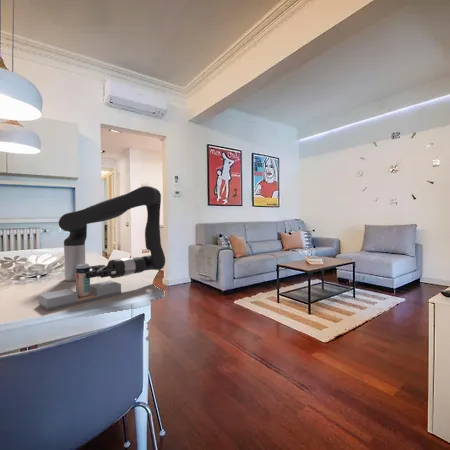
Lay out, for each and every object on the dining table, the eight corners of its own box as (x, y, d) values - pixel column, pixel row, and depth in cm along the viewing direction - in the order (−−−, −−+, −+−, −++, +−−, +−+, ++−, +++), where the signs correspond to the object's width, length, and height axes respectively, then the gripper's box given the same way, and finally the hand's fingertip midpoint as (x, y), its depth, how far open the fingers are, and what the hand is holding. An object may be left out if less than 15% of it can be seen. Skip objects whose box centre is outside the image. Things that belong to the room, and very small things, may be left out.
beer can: (79, 294, 104) (79, 263, 104) (92, 293, 105) (91, 263, 104) (73, 297, 100) (73, 265, 99) (87, 297, 100) (86, 265, 100)
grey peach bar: (39, 305, 95) (38, 294, 95) (110, 289, 115) (110, 280, 115) (47, 311, 89) (47, 299, 89) (121, 293, 109) (120, 283, 109)
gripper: (113, 257, 118) (73, 262, 106) (130, 260, 109) (88, 266, 97) (113, 274, 118) (74, 280, 106) (130, 278, 109) (89, 287, 97)
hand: (81, 274), depth 101 cm, fingers open, 8 cm apart
